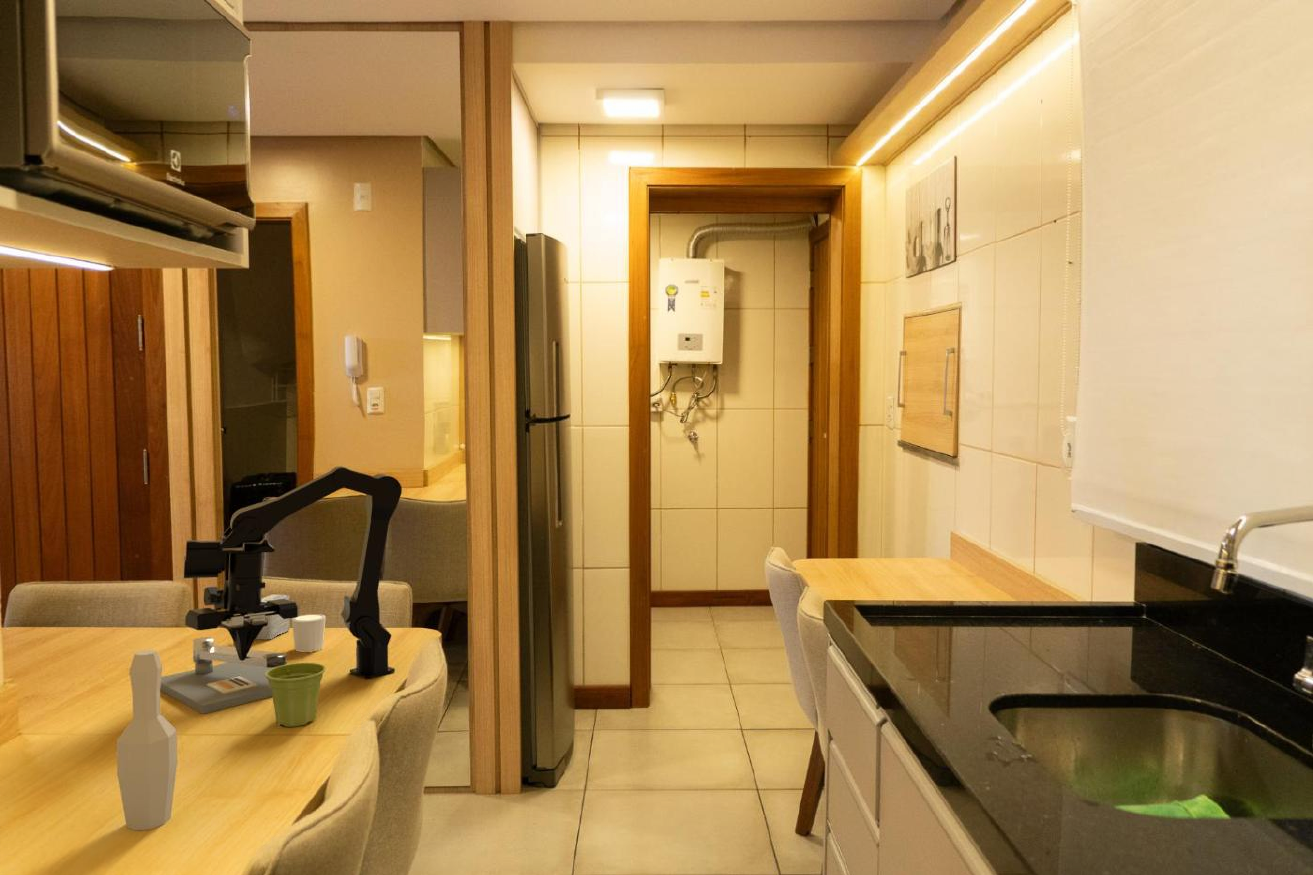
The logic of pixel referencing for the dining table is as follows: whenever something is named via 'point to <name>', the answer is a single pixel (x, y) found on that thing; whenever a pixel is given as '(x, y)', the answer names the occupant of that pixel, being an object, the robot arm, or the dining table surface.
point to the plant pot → (295, 692)
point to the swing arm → (234, 654)
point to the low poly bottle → (147, 750)
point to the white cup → (308, 632)
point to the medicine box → (274, 621)
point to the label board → (217, 686)
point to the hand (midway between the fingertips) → (241, 660)
